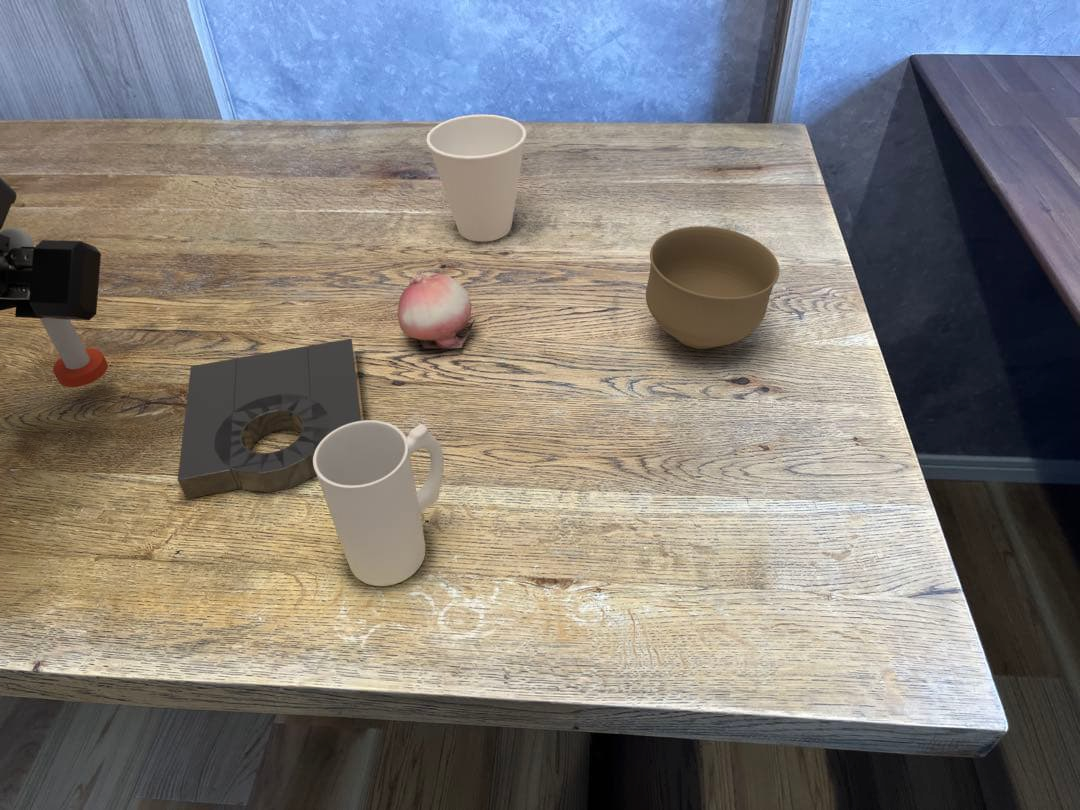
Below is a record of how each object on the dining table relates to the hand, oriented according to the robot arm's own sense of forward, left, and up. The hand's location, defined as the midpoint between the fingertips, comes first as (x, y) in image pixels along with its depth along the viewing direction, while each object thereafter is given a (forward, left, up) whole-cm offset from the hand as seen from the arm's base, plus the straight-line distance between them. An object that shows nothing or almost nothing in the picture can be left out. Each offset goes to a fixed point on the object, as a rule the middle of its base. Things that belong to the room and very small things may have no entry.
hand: (55, 296), depth 76 cm
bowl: (+62, -9, -11) cm, 63 cm away
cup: (+44, +20, -11) cm, 49 cm away
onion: (+35, -1, -11) cm, 36 cm away
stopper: (0, -1, -8) cm, 8 cm away
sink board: (+18, -10, -11) cm, 23 cm away
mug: (+28, -28, -11) cm, 41 cm away
